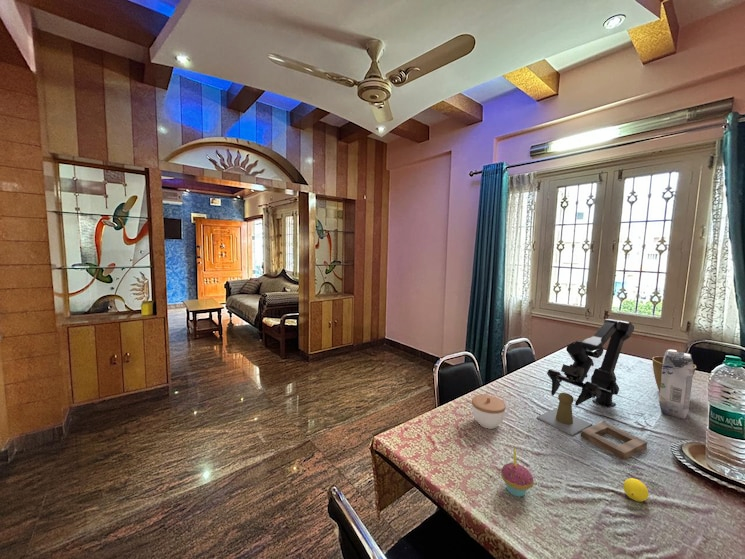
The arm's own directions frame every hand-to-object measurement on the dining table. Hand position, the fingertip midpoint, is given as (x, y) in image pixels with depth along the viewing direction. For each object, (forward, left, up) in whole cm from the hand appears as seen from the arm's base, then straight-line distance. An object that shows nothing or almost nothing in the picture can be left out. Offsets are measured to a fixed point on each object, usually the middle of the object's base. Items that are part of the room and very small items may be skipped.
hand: (563, 400), depth 122 cm
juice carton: (-50, +15, -10) cm, 53 cm away
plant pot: (-70, +6, -10) cm, 71 cm away
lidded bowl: (+28, -12, -10) cm, 32 cm away
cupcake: (+46, +17, -10) cm, 50 cm away
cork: (-1, 0, -9) cm, 9 cm away
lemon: (+18, +33, -10) cm, 39 cm away
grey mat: (-1, 0, -10) cm, 10 cm away
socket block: (-4, +16, -10) cm, 19 cm away
